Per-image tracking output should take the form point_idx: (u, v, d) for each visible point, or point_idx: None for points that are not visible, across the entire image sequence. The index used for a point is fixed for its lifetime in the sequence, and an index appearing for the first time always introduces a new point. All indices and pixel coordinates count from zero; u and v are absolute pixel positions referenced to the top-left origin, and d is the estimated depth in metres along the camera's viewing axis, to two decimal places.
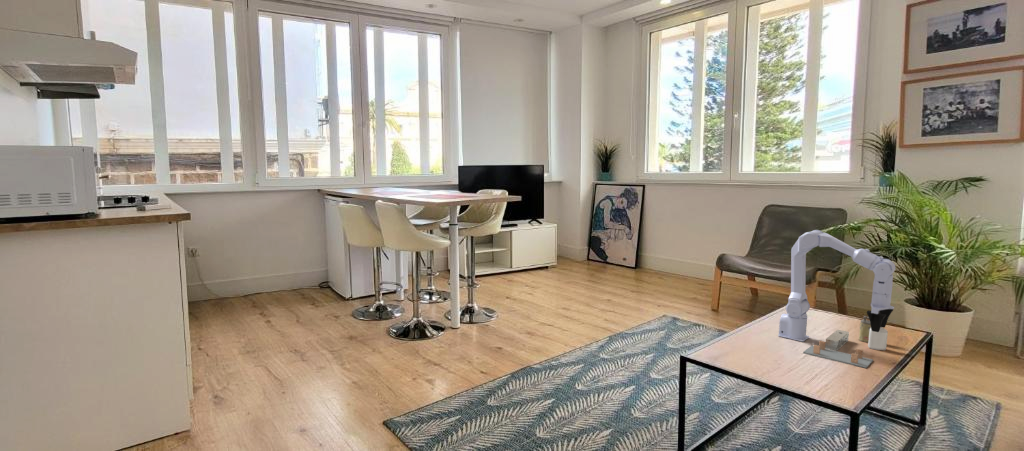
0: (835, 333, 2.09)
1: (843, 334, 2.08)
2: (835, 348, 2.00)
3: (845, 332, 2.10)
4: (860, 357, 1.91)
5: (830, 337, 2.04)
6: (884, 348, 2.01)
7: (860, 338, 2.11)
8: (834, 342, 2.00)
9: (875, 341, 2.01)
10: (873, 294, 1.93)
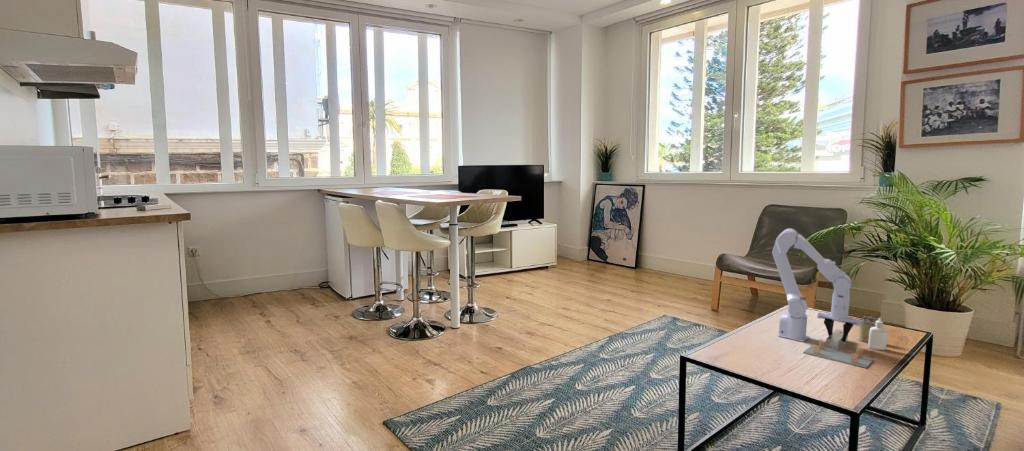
0: (835, 333, 2.09)
1: None
2: (836, 348, 2.00)
3: None
4: (860, 357, 1.91)
5: (830, 337, 2.04)
6: (884, 348, 2.01)
7: (860, 338, 2.11)
8: (834, 341, 2.00)
9: (875, 341, 2.01)
10: None
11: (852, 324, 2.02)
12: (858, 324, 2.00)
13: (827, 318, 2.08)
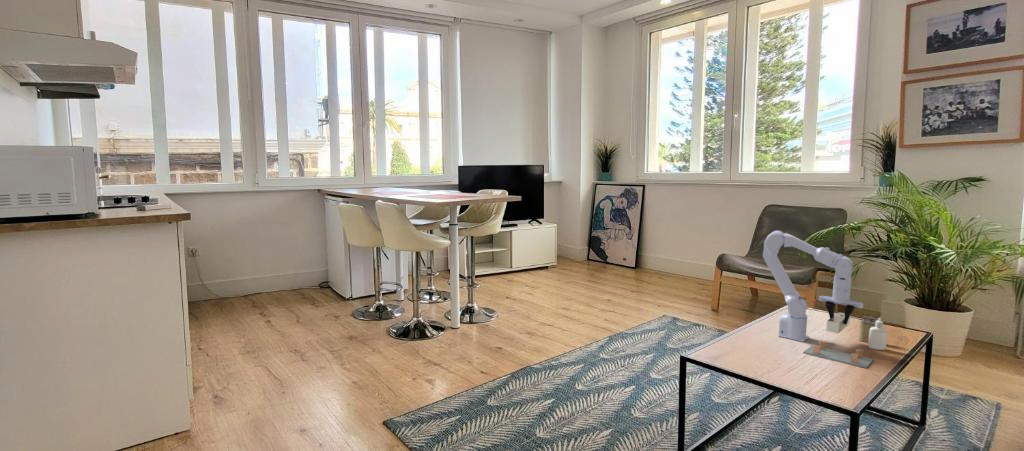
0: (837, 315, 2.08)
1: None
2: (836, 330, 1.99)
3: None
4: (860, 357, 1.91)
5: (831, 319, 2.03)
6: (884, 348, 2.01)
7: (860, 338, 2.11)
8: (835, 323, 2.00)
9: (875, 341, 2.01)
10: None
11: (854, 306, 2.02)
12: (860, 306, 1.99)
13: (828, 301, 2.07)
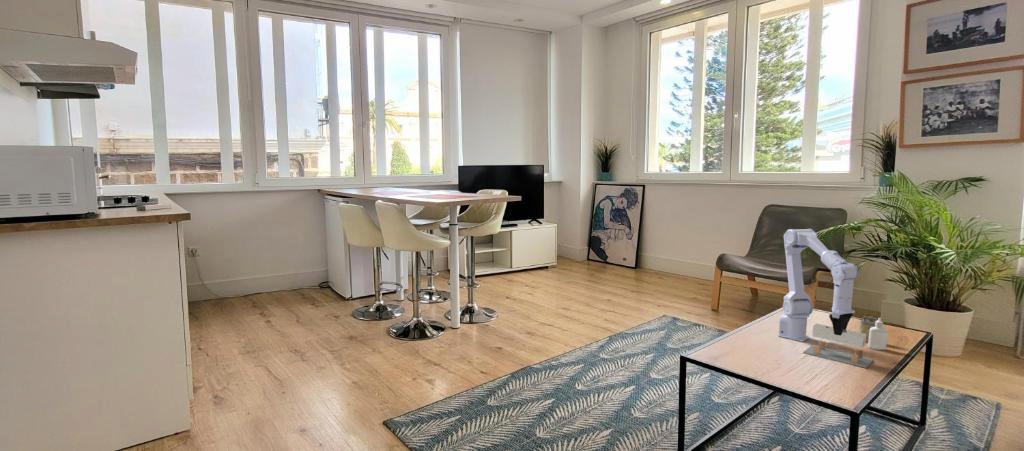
0: (832, 329, 1.93)
1: (831, 327, 1.96)
2: (865, 342, 1.88)
3: (821, 325, 1.98)
4: (860, 357, 1.91)
5: (853, 333, 1.88)
6: (884, 348, 2.01)
7: None
8: (865, 336, 1.88)
9: (875, 341, 2.01)
10: (834, 298, 1.91)
11: None
12: None
13: None
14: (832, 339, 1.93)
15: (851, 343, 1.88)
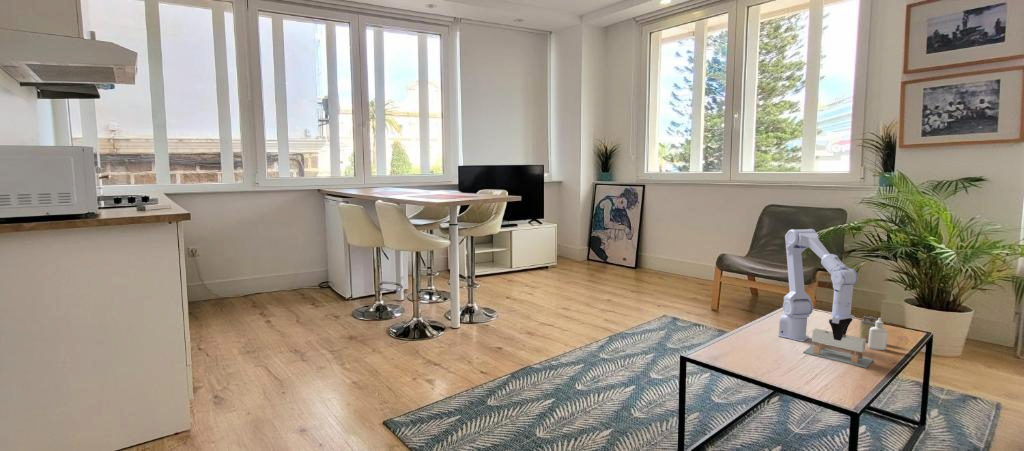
0: (832, 334, 1.93)
1: (831, 332, 1.96)
2: (864, 347, 1.89)
3: (820, 330, 1.98)
4: (860, 357, 1.91)
5: (853, 338, 1.89)
6: (884, 348, 2.01)
7: None
8: (865, 341, 1.88)
9: (875, 341, 2.01)
10: (834, 303, 1.91)
11: None
12: None
13: (838, 320, 1.89)
14: (832, 344, 1.93)
15: (851, 348, 1.89)
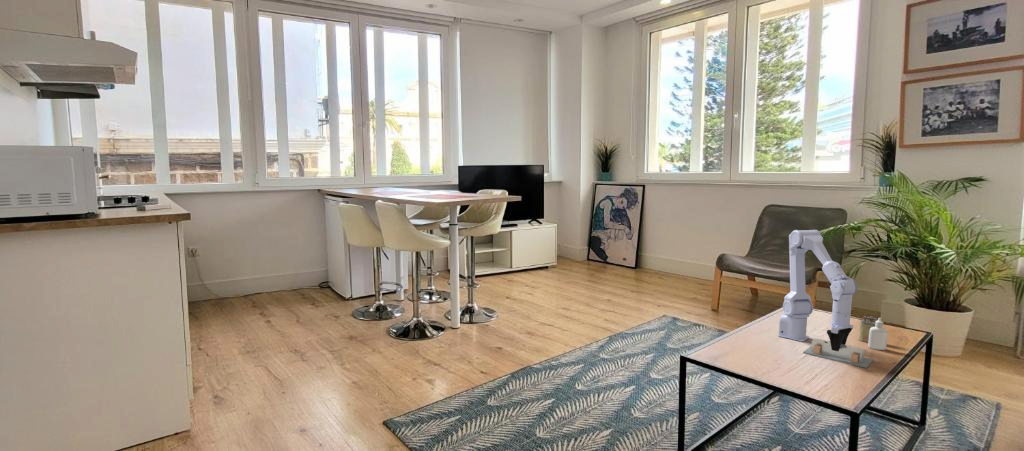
0: None
1: None
2: (863, 357, 1.89)
3: (820, 339, 1.99)
4: None
5: (852, 349, 1.89)
6: (884, 348, 2.01)
7: (860, 338, 2.11)
8: (864, 351, 1.88)
9: (875, 341, 2.01)
10: (833, 313, 1.92)
11: None
12: None
13: (838, 330, 1.89)
14: (831, 354, 1.93)
15: (850, 358, 1.89)
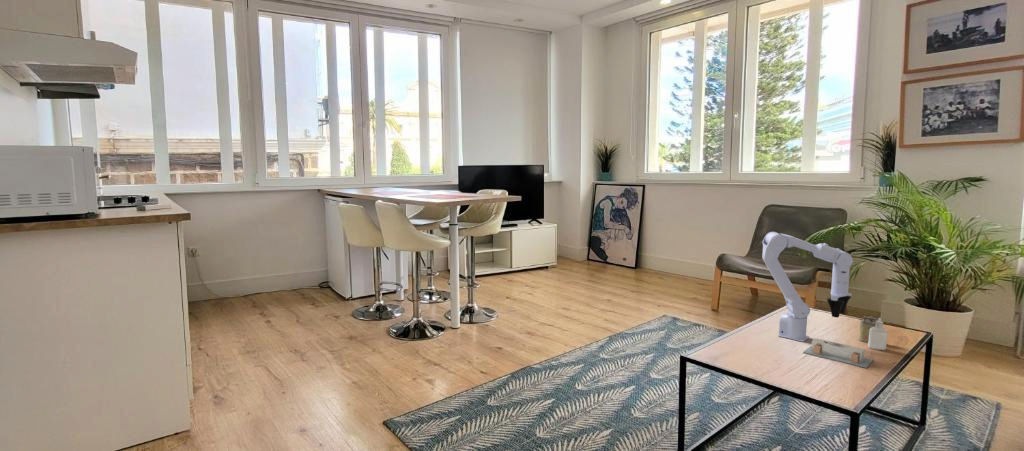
0: (831, 344, 1.94)
1: (830, 342, 1.96)
2: (863, 357, 1.89)
3: (820, 339, 1.99)
4: None
5: (852, 349, 1.89)
6: (884, 348, 2.01)
7: (860, 338, 2.11)
8: (864, 351, 1.88)
9: (875, 341, 2.01)
10: (832, 283, 2.09)
11: None
12: None
13: None
14: (831, 354, 1.93)
15: (850, 358, 1.89)
